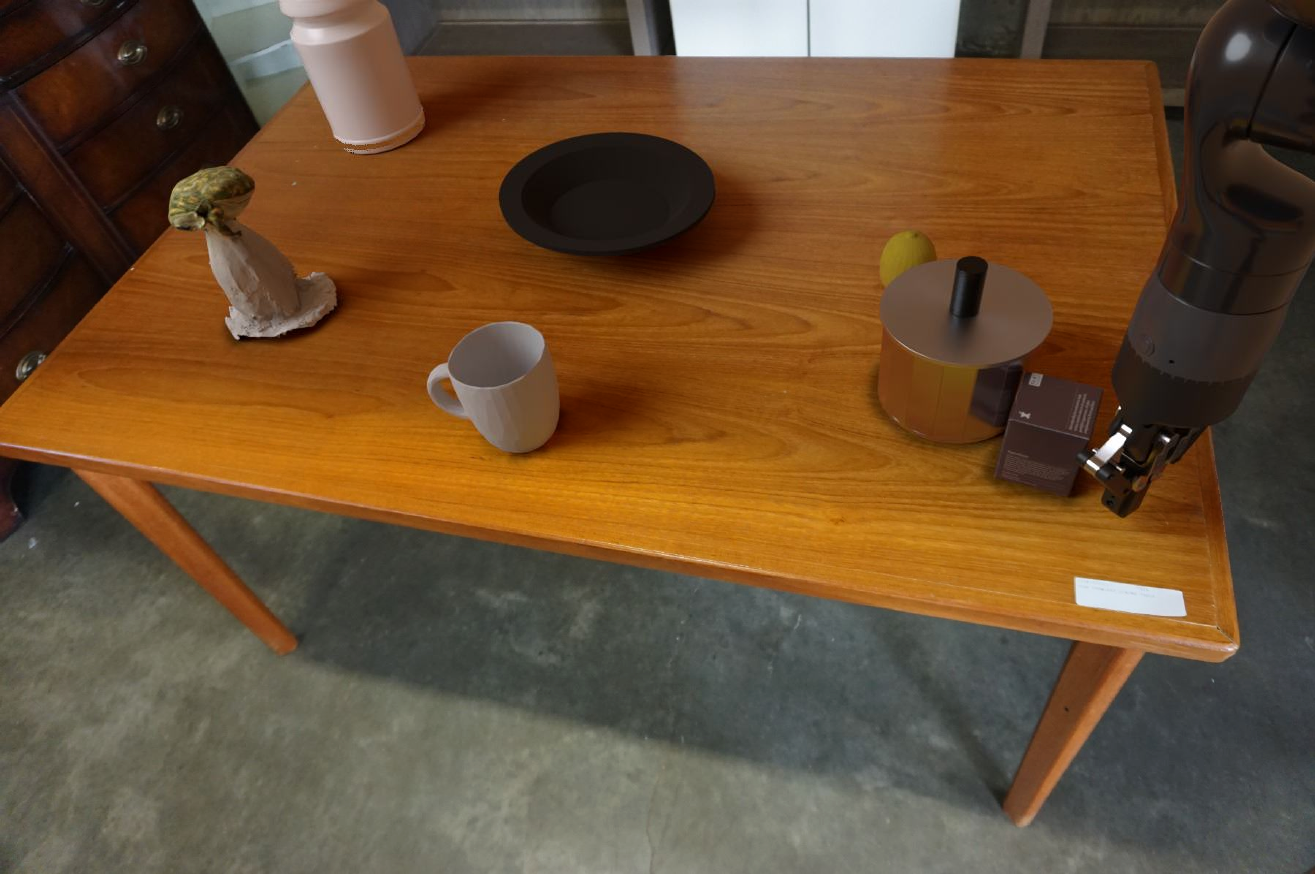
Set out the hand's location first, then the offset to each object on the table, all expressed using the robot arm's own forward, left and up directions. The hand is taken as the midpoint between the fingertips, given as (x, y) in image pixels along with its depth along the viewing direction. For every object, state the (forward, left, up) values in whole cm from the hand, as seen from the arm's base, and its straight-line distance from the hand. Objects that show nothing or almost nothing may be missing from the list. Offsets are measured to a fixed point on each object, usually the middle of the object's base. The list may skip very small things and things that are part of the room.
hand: (1118, 506), depth 64 cm
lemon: (+31, -6, -3) cm, 32 cm away
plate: (+63, +12, -3) cm, 64 cm away
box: (+8, 0, -3) cm, 8 cm away
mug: (+40, +36, -3) cm, 54 cm away
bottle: (+110, +27, -3) cm, 113 cm away
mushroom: (+74, +51, -3) cm, 90 cm away
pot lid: (+18, 0, +7) cm, 19 cm away
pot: (+18, 0, -2) cm, 18 cm away
